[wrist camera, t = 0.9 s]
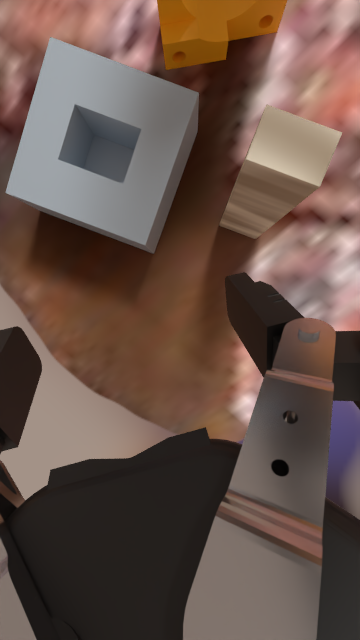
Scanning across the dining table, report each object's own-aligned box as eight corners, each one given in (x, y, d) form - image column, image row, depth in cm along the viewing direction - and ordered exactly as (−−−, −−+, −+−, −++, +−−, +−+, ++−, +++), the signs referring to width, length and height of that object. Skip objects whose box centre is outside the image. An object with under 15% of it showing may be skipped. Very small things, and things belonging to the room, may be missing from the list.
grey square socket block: (77, 86, 31) (50, 36, 25) (197, 131, 31) (198, 92, 25) (40, 210, 32) (5, 192, 26) (153, 253, 32) (145, 245, 26)
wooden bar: (228, 199, 31) (266, 104, 15) (265, 213, 31) (342, 132, 15) (218, 225, 32) (245, 159, 16) (255, 239, 32) (319, 186, 16)
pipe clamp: (165, 71, 30) (158, 11, 24) (160, 27, 30) (151, -45, 23) (278, 51, 30) (301, -16, 23) (274, 6, 29) (297, -75, 23)
